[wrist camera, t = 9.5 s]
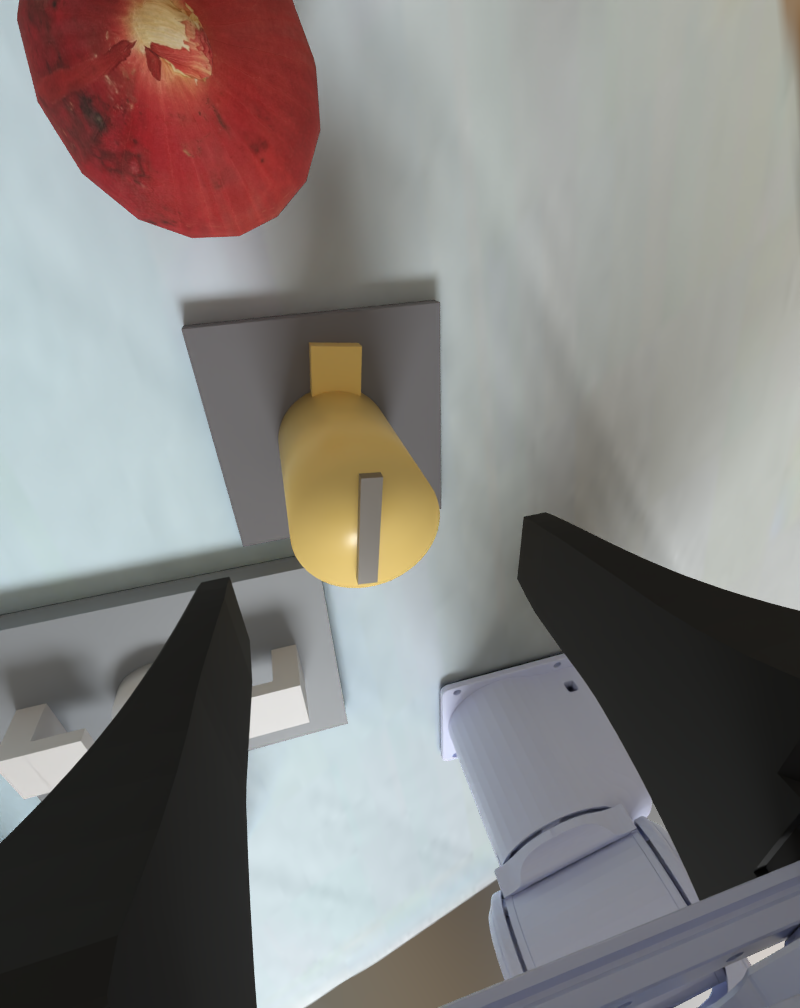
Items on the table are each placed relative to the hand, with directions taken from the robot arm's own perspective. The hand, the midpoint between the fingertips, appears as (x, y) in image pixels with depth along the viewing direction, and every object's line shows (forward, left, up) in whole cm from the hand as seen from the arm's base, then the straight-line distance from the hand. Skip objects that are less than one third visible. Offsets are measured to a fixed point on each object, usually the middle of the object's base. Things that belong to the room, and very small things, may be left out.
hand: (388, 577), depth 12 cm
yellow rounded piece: (0, 0, -9) cm, 9 cm away
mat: (0, 0, -10) cm, 10 cm away
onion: (+3, -10, -10) cm, 14 cm away
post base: (+10, +12, -10) cm, 18 cm away
